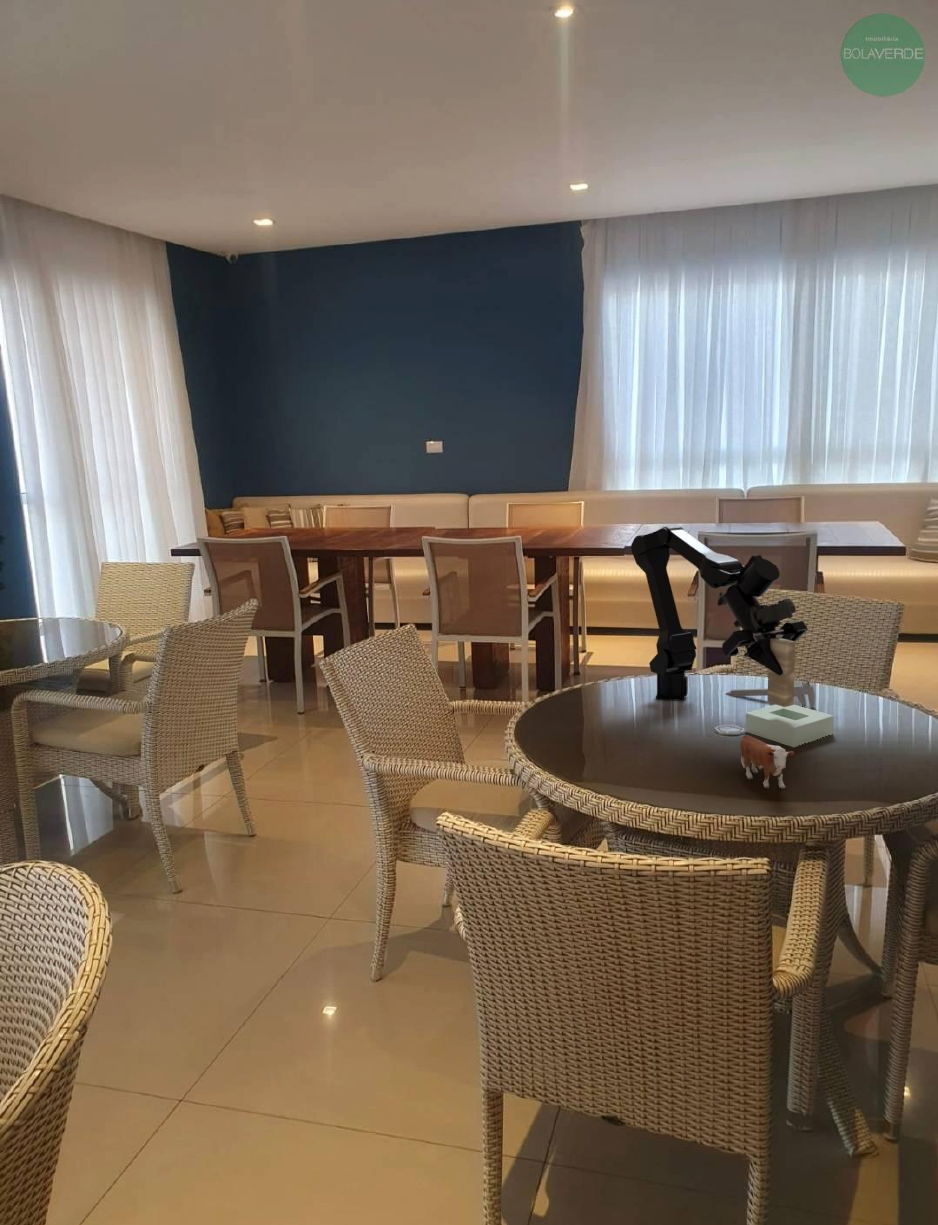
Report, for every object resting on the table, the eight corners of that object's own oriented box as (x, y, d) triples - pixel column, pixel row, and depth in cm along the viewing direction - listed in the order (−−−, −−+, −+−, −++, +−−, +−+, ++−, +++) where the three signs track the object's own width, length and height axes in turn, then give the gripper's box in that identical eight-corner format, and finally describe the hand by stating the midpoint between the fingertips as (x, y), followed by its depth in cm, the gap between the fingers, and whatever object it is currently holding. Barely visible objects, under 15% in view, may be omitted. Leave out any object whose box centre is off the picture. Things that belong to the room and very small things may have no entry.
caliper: (814, 708, 194) (815, 681, 193) (812, 709, 193) (813, 682, 192) (727, 694, 207) (727, 668, 206) (725, 695, 206) (725, 669, 205)
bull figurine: (776, 799, 147) (777, 753, 145) (734, 771, 160) (735, 728, 158) (799, 796, 148) (800, 750, 146) (756, 768, 161) (756, 726, 159)
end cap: (793, 747, 170) (794, 727, 169) (745, 731, 180) (745, 713, 180) (833, 734, 176) (833, 715, 176) (783, 719, 186) (784, 701, 186)
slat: (784, 707, 173) (786, 643, 170) (767, 701, 177) (768, 639, 174) (793, 705, 174) (795, 641, 172) (776, 699, 178) (778, 637, 175)
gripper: (733, 591, 170) (774, 658, 163) (802, 581, 179) (844, 644, 171) (704, 624, 179) (742, 688, 171) (772, 613, 187) (811, 674, 179)
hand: (786, 673), depth 173 cm, fingers closed on slat, 2 cm apart
